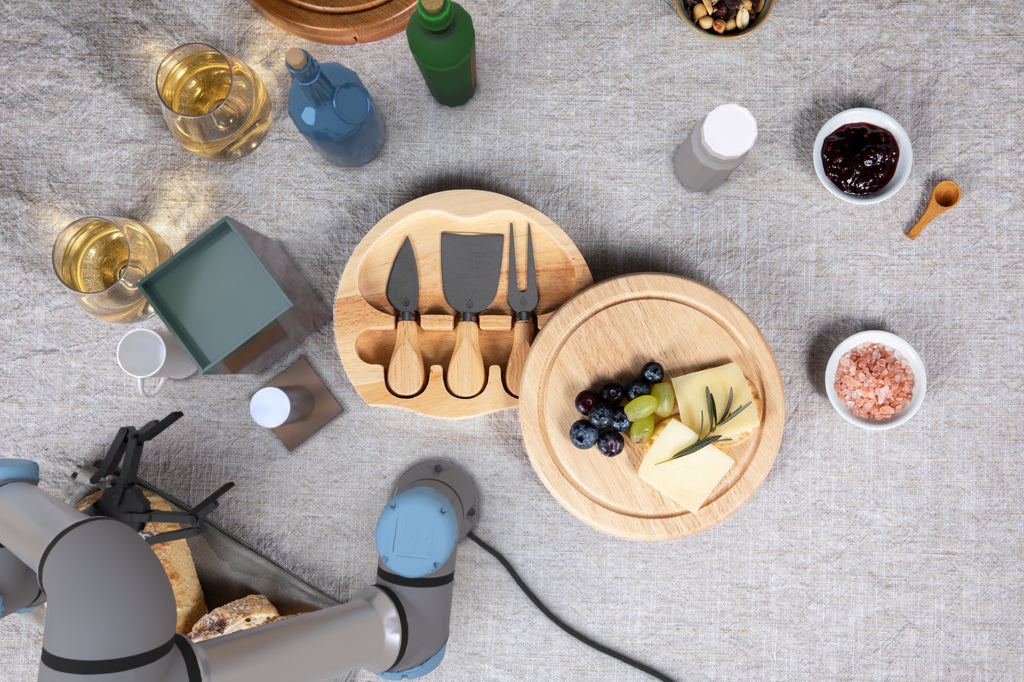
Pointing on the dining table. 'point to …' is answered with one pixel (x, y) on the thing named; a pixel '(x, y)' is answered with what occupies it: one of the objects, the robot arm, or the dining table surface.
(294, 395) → the can
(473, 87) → the bottle
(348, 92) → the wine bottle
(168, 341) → the mug
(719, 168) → the jar
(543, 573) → the dining table surface
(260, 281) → the teal boxy piece
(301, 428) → the brown coaster
